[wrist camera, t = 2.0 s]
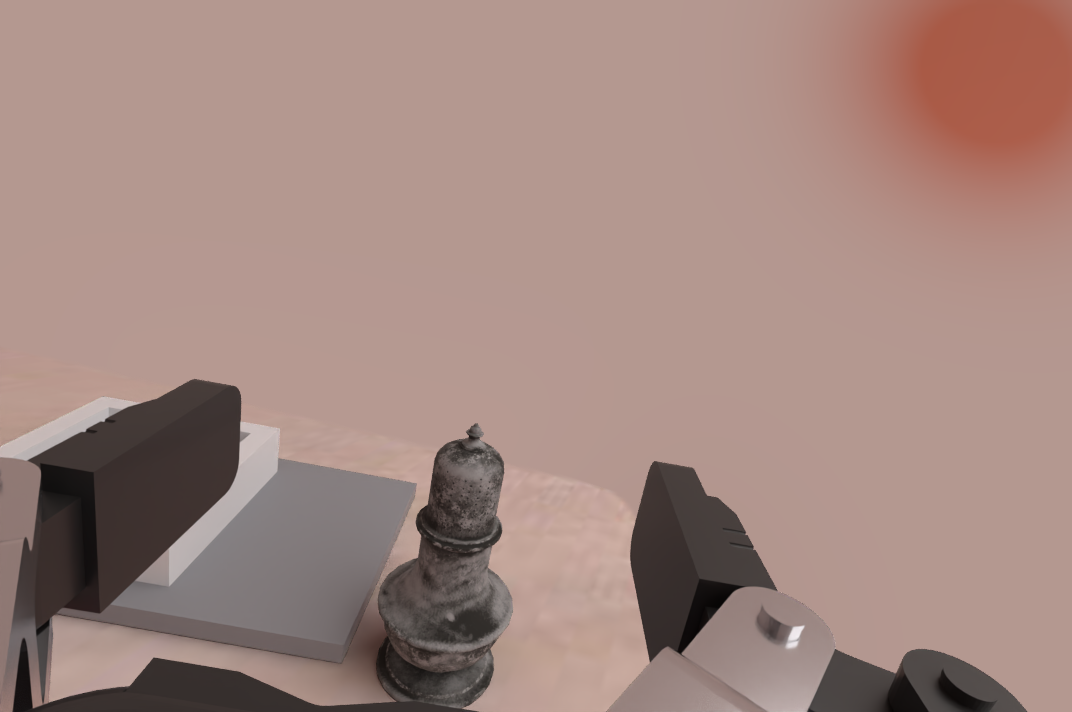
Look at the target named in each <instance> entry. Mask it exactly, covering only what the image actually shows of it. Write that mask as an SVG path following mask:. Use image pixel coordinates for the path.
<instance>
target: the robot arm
mask: <svg viewBox="0 0 1072 712" xmlns="http://www.w3.org/2000/svg"><path fill="white" fill-rule="evenodd" d="M240 422H241V395H240V391H239V390H238V388H237V387H235V386H231V385H226V384H220V383H214V382H209V381H202V380H197V379H194V380H190V381H189V382H187V383H185V384H183V385H181V386H179V387H178V388H176V389H174V390H172V391H170V392H169V393H167V394H165V395H163V396H161V397H159V398H158V399H155V400H151V401H147V402H144V403H140V404H136V405H133V406H129V407H127V408H125V409H123V410H121V411H119V412H117V413H115V414H113V415H112V416H110V417H108V418H106V419H105V421H104V422H102V421H100V422H98V423H97V424H95V425H93V426H91V427H89V428H87V429H86V431H85V432H80V433H78V434H76V435H74V436H72V437H70V438H68V439H66V440H64V441H63V442H61V443H59V444H57V445H55V446H53V447H51V448H49V449H48V450H46V451H44V452H42V453H40V454H38V455H36V456H34V457H32V458H31V459H29V460H27V461H26V460H22V459H16V458H5V457H0V712H477V711H471V710H465V709H459V708H453V707H447V706H441V705H435V704H429V703H423V702H417V701H405V702H388V703H371V704H354V705H337V706H319V705H314V704H311V703H308V702H306V701H304V700H302V699H299V698H297V697H295V696H293V695H290V694H288V693H286V692H284V691H281V690H279V689H277V688H275V687H272V686H270V685H268V684H266V683H263V682H261V681H259V680H257V679H254V678H252V677H250V676H247V675H245V674H243V673H241V672H237V671H231V670H225V669H219V668H213V667H207V666H201V665H195V664H189V663H183V662H177V661H171V660H165V659H159V658H153V659H152V660H151V662H150V663H149V664H148V665H147V666H146V668H145V669H144V670H143V671H142V672H141V673H140V675H139V676H138V677H137V678H136V679H135V681H134V682H133V683H132V684H131V685H130V686H128V687H116V688H110V689H103V690H96V691H91V692H87V693H82V694H78V695H73V696H69V697H66V698H62V699H59V700H56V701H53V702H49V690H50V675H51V659H52V643H53V629H52V616H53V615H55V614H56V613H57V612H58V611H59V610H60V609H62V608H68V609H74V610H80V611H86V612H92V613H98V614H100V613H101V612H103V611H104V610H105V609H106V608H107V607H108V606H109V605H110V604H111V603H112V602H113V601H114V600H115V599H116V598H117V597H118V596H119V595H120V594H121V593H122V592H124V591H125V590H126V589H127V588H128V587H129V586H130V585H131V584H132V583H133V582H134V581H135V580H136V579H137V578H138V577H139V576H140V575H141V574H142V573H143V572H145V571H146V570H147V569H148V568H149V567H150V566H151V565H152V564H153V563H154V562H155V561H156V560H157V559H158V558H159V557H160V556H161V555H162V554H163V553H164V552H166V551H167V550H168V549H169V548H170V547H171V546H172V545H173V544H174V543H175V542H176V541H177V540H178V539H179V538H180V537H181V536H182V535H183V534H184V533H185V532H186V531H188V530H189V529H190V528H191V527H192V526H193V525H194V524H195V523H196V522H197V521H198V520H199V519H200V518H201V517H202V516H203V515H204V514H205V513H206V512H207V511H209V510H210V509H211V508H212V507H213V506H214V505H215V504H216V503H217V502H218V501H219V500H220V499H221V498H222V497H223V496H224V495H225V494H226V493H227V492H228V491H229V489H230V488H231V486H232V484H233V482H234V480H235V477H236V474H237V471H238V466H239V451H240ZM745 533H746V532H745V530H744V528H743V526H742V524H741V522H740V520H739V518H738V517H737V515H736V514H735V513H734V512H733V511H732V510H731V509H729V507H727V506H726V505H725V504H724V503H723V502H722V501H721V500H720V499H718V498H716V497H711V496H707V495H706V493H705V491H704V489H703V487H702V485H701V483H700V480H699V478H698V476H697V474H696V472H695V470H694V469H693V468H690V467H685V466H679V465H673V464H667V463H662V462H657V461H654V462H653V463H652V465H651V467H650V470H649V472H648V476H647V480H646V484H645V488H644V491H643V495H642V499H641V503H640V507H639V510H638V514H637V518H636V522H635V526H634V530H633V534H632V540H631V551H630V560H631V568H632V573H633V578H634V583H635V588H636V593H637V599H638V604H639V609H640V614H641V619H642V624H643V629H644V634H645V639H646V644H647V649H648V655H649V660H650V664H649V665H648V666H647V667H646V668H645V669H644V670H643V671H642V672H641V674H640V675H639V676H638V677H637V678H636V679H635V680H634V681H633V682H632V684H631V685H630V686H629V687H628V688H627V689H626V690H625V691H624V692H623V694H622V695H621V696H620V697H619V698H618V699H617V700H616V701H615V702H614V704H613V705H612V706H611V707H610V708H609V709H608V710H607V711H606V712H1027V711H1026V710H1025V708H1024V707H1023V706H1022V705H1021V704H1020V702H1018V700H1017V699H1016V698H1015V697H1014V696H1013V695H1012V694H1011V693H1009V692H1008V690H1006V689H1005V688H1004V687H1003V686H1002V685H1000V684H999V683H998V682H997V681H995V680H994V679H993V678H991V677H990V676H988V675H987V674H985V673H984V672H982V671H981V670H979V669H977V668H976V667H974V666H972V665H970V664H968V663H966V662H964V661H962V660H960V659H958V658H955V657H953V656H950V655H947V654H945V653H941V652H938V651H933V650H927V649H916V650H912V651H910V652H907V653H906V654H905V656H904V657H903V659H902V662H901V664H900V666H899V669H898V671H897V673H896V674H895V673H893V672H890V671H887V670H885V669H882V668H880V667H877V666H874V665H872V664H869V663H867V662H864V661H862V660H859V659H857V658H854V657H852V656H849V655H847V654H844V653H842V652H840V651H838V650H836V649H835V640H834V637H833V634H832V633H831V631H830V629H829V627H828V626H827V625H826V623H825V622H824V621H823V620H822V619H821V618H820V617H819V616H818V615H817V614H816V613H815V612H814V611H812V610H811V609H810V608H808V607H807V606H806V605H804V604H803V603H801V602H799V601H797V600H796V599H794V598H792V597H790V596H788V595H786V594H783V593H781V592H778V591H777V589H776V587H775V585H774V583H773V581H772V580H771V578H770V576H769V574H768V572H767V570H766V568H765V567H764V565H763V563H762V561H761V559H760V557H759V556H758V554H757V552H756V550H753V545H752V543H751V541H750V539H749V537H748V535H745Z"/></svg>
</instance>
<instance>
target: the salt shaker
mask: <svg viewBox="0 0 1072 712" xmlns="http://www.w3.org/2000/svg"><path fill="white" fill-rule="evenodd" d="M466 433H467V434H468V435H469V438H466V439H459V440H455V441H452V442H449V443H447V444H445V445H444V446H443V447H442V448H441V449H440V450H439V451H438V452H437V455H436V457H435V461H434V467H433V474H432V481H431V487H430V494H429V501H428V505H426V506H425V507H424V508H422V509H421V510H420V512H419V513H418V514H417V518H416V526H417V530H418V531H419V533H420V534H421V542H420V549H419V555H418V558H416V559H413V560H411V561H408V562H406V563H404V564H402V565H400V566H398V567H397V568H396V569H395V570H394V571H392V572H391V573H390V574H389V575H388V576H387V577H386V579H385V580H384V582H383V583H382V585H381V587H380V591H379V595H378V607H379V613H380V615H381V617H382V619H383V621H384V625H385V630H386V632H387V635H388V636H387V637H386V638H385V640H384V642H383V643H382V645H381V647H380V649H379V653H378V657H377V662H376V665H377V673H378V677H379V680H380V682H381V684H382V686H383V688H384V689H385V690H386V691H387V692H388V693H389V695H390V696H391V697H392V698H393V699H394V700H396V701H398V702H405V701H417V702H423V703H429V704H435V705H441V706H447V707H453V708H459V709H461V708H463V707H465V706H468V705H470V704H471V703H473V702H474V701H475V700H476V699H478V698H479V697H480V696H481V695H482V694H483V693H484V691H485V690H486V688H487V687H488V686H489V684H490V681H491V678H492V674H493V671H494V666H493V656H492V653H491V650H490V648H491V647H492V646H493V644H494V643H495V642H496V640H497V639H498V638H499V636H500V635H501V634H502V633H503V631H504V630H505V629H506V628H507V626H508V625H509V622H510V619H511V616H512V612H513V605H512V597H511V595H510V592H509V590H508V588H507V586H506V585H505V583H504V582H503V581H502V580H501V579H500V577H499V576H498V575H497V574H495V573H494V572H493V571H491V570H490V569H489V568H488V564H489V559H490V554H491V548H492V545H494V544H495V543H496V542H497V541H498V540H499V539H500V537H501V534H502V524H501V522H500V520H499V518H498V517H497V516H496V513H497V507H498V502H499V497H500V492H501V486H502V481H503V476H504V461H503V460H502V458H501V456H500V454H499V453H498V452H497V451H496V450H495V449H494V448H493V447H491V446H490V445H488V444H486V443H484V442H482V441H481V440H480V437H482V436H483V435H484V433H483V432H482V431H481V428H480V427H479V425H478V424H474V426H471V428H470V429H469V430H467V432H466Z"/></svg>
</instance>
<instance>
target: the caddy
mask: <svg viewBox="0 0 1072 712" xmlns="http://www.w3.org/2000/svg"><path fill="white" fill-rule="evenodd" d="M136 404H140V403H138V402H132V401H127V400H121V399H116V398H111V397H105V396H102V397H100V398H98V399H96V400H94V401H92V402H90V403H88V404H86V405H84V406H82V407H80V408H78V409H76V410H74V411H72V412H70V413H68V414H66V415H64V416H61V417H59V418H57V419H55V420H53V421H51V422H49V423H47V424H45V425H43V426H41V427H39V428H37V429H35V430H33V431H31V432H29V433H27V434H25V435H23V436H21V437H19V438H16V439H14V440H12V441H10V442H8V443H6V444H4V445H2V446H0V457H5V458H16V459H22V460H26V461H27V460H29V459H31V458H32V457H34V456H36V455H38V454H40V453H42V452H44V451H46V450H48V449H49V448H51V447H53V446H55V445H57V444H59V443H61V442H63V441H64V440H66V439H68V438H70V437H72V436H74V435H76V434H78V433H80V432H85V431H86V429H87V428H89V427H91V426H93V425H95V424H97V423H98V422H100V421H102V422H104V421H105V419H106V418H108V417H110V416H112V415H113V414H115V413H117V412H119V411H121V410H123V409H125V408H127V407H129V406H133V405H136ZM279 436H280V428H274V427H269V426H263V425H258V424H252V423H247V422H240V451H239V466H238V471H237V474H236V477H235V480H234V482H233V484H232V486H231V488H230V489H229V491H228V492H227V493H226V494H225V495H224V496H223V497H222V498H221V499H220V500H219V501H218V502H217V503H216V504H215V505H214V506H213V507H212V508H211V509H210V510H209V511H207V512H206V513H205V514H204V515H203V516H202V517H201V518H200V519H199V520H198V521H197V522H196V523H195V524H194V525H193V526H192V527H191V528H190V529H189V530H188V531H186V532H185V533H184V534H183V535H182V536H181V537H180V538H179V539H178V540H177V541H176V542H175V543H174V544H173V545H172V546H171V547H170V548H169V549H168V550H167V551H166V552H164V553H163V554H162V555H161V556H160V557H159V558H158V559H157V560H156V561H155V562H154V563H153V564H152V565H151V566H150V567H149V568H148V569H147V570H146V571H145V572H143V573H142V574H141V575H140V576H139V577H138V578H137V579H136V580H135V581H134V582H133V583H132V584H131V585H130V586H129V587H128V588H127V589H126V590H125V591H124V592H122V593H121V594H120V595H119V596H118V597H117V598H116V599H115V600H114V601H113V602H112V603H111V604H110V605H109V606H108V607H107V608H106V609H105V610H104V611H103V612H101V613H100V614H98V613H92V612H86V611H80V610H74V609H68V608H62V609H60V610H59V611H58V612H57V613H56V614H61V615H67V616H72V617H78V618H84V619H90V620H95V621H101V622H107V623H112V624H118V625H124V626H130V627H135V628H141V629H147V630H153V631H158V632H164V633H170V634H176V635H181V636H187V637H193V638H198V639H204V640H210V641H216V642H221V643H227V644H233V645H239V646H244V647H250V648H256V649H261V650H267V651H273V652H279V653H284V654H290V655H296V656H302V657H307V658H313V659H319V660H325V661H330V662H336V663H342V661H343V659H344V657H345V655H346V652H347V650H348V648H349V646H350V643H351V641H352V639H353V636H354V634H355V632H356V630H357V627H358V625H359V623H360V620H361V618H362V616H363V614H364V611H365V609H366V607H367V605H368V602H369V600H370V598H371V595H372V593H373V591H374V589H375V586H376V584H377V582H378V579H379V577H380V575H381V573H382V570H383V568H384V566H385V563H386V561H387V559H388V557H389V554H390V552H391V550H392V548H393V545H394V543H395V541H396V538H397V536H398V534H399V532H400V529H401V527H402V525H403V522H404V520H405V518H406V516H407V513H408V511H409V509H410V506H411V504H412V502H413V500H414V497H415V492H416V485H417V483H411V482H406V481H400V480H395V479H389V478H384V477H378V476H373V475H367V474H362V473H356V472H351V471H345V470H340V469H334V468H329V467H323V466H318V465H312V464H307V463H301V462H296V461H290V460H285V459H279V458H278V453H279Z"/></svg>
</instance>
